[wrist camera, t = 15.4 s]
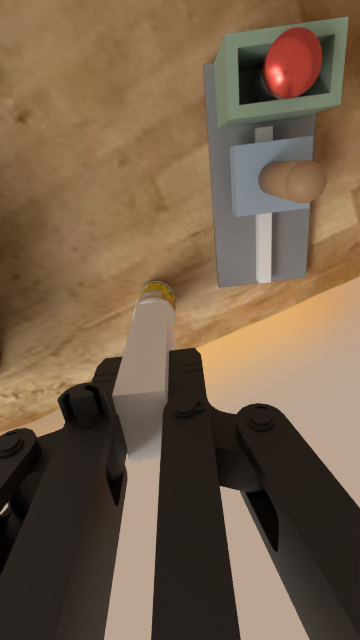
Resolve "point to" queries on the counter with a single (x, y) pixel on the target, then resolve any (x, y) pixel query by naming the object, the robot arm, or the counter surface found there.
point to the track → (244, 226)
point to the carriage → (274, 176)
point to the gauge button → (288, 66)
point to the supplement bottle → (157, 296)
